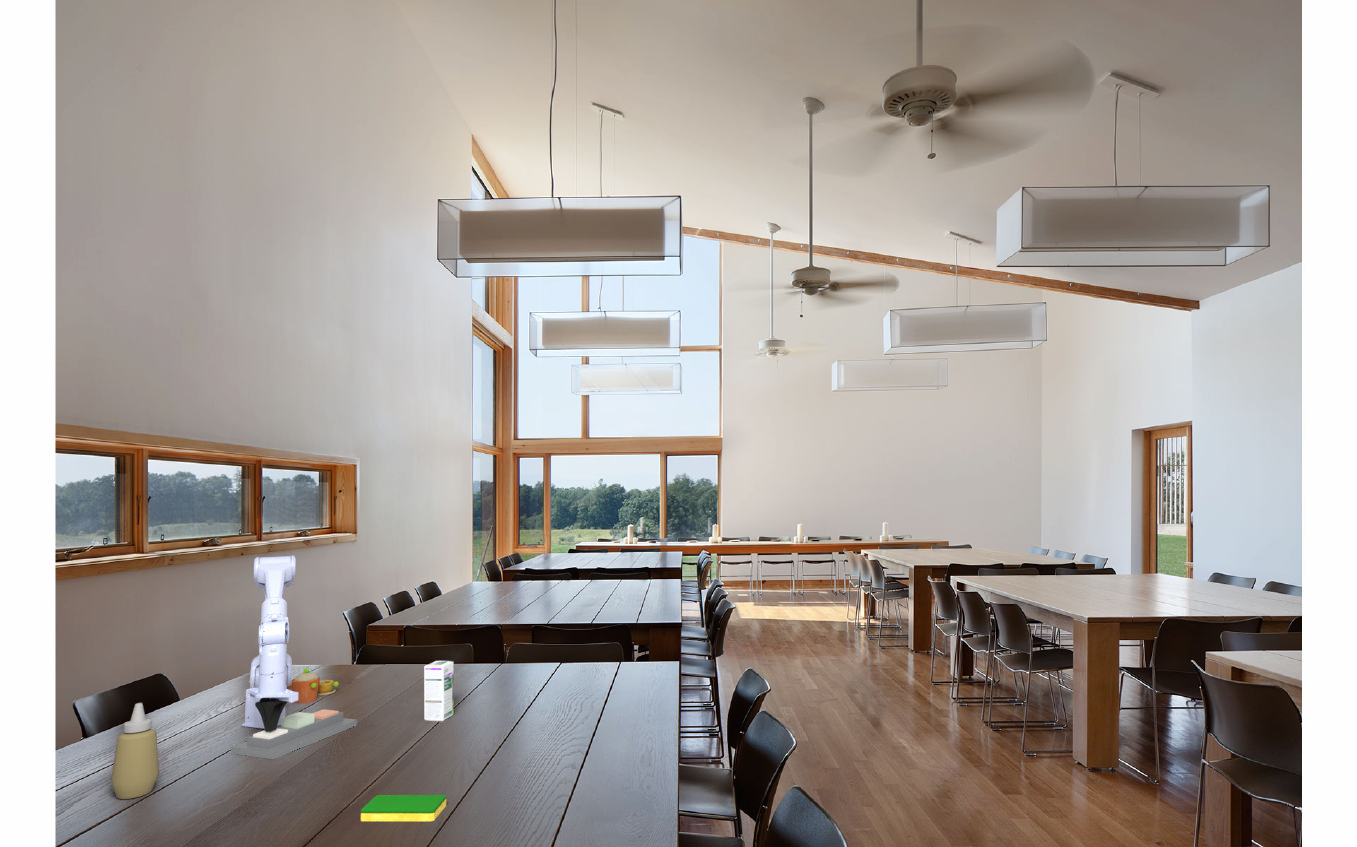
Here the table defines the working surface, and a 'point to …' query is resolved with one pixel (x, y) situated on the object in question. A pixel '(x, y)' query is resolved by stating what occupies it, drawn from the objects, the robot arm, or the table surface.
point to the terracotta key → (324, 714)
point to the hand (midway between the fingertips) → (270, 730)
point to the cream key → (270, 733)
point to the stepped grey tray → (294, 738)
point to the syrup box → (438, 690)
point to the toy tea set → (310, 687)
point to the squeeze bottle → (135, 757)
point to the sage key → (297, 720)
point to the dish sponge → (403, 808)
